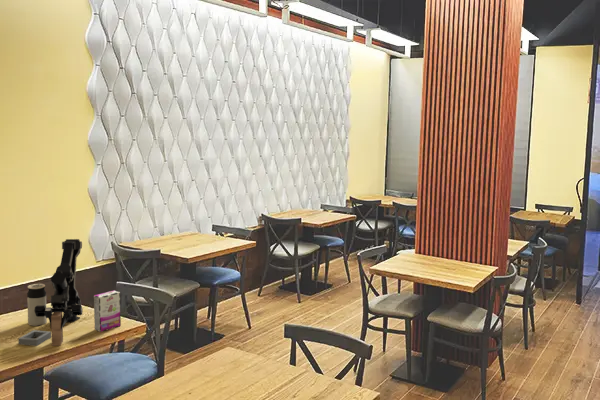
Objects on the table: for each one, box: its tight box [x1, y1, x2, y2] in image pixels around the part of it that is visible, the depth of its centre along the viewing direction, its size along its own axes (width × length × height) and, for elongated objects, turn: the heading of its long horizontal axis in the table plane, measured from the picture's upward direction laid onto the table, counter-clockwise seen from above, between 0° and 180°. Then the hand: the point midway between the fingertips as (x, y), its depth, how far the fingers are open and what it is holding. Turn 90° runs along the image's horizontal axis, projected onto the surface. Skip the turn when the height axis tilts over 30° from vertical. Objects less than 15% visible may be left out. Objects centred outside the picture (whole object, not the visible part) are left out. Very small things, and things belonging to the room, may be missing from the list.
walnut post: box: [50, 312, 64, 347], centre depth 246 cm, size 5×4×13 cm
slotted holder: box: [17, 329, 52, 347], centre depth 250 cm, size 10×8×2 cm
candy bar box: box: [93, 290, 122, 333], centre depth 267 cm, size 11×5×16 cm, turn 143°
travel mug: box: [26, 283, 48, 327], centre depth 270 cm, size 8×8×18 cm
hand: (56, 328), depth 245 cm, fingers closed on walnut post, 3 cm apart
